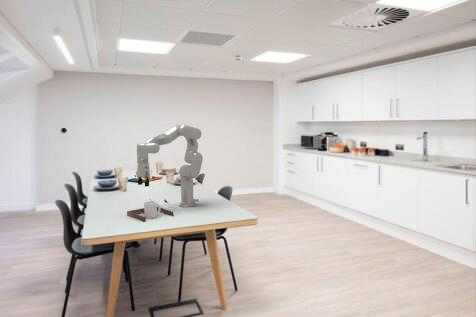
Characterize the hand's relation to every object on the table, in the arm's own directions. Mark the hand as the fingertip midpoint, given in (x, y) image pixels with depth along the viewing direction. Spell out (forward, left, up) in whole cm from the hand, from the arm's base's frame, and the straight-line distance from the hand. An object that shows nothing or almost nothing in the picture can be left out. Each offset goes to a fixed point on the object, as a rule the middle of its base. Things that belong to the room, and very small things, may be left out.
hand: (143, 185), depth 256 cm
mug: (0, +11, -21) cm, 23 cm away
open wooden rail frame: (0, +7, -20) cm, 22 cm away
